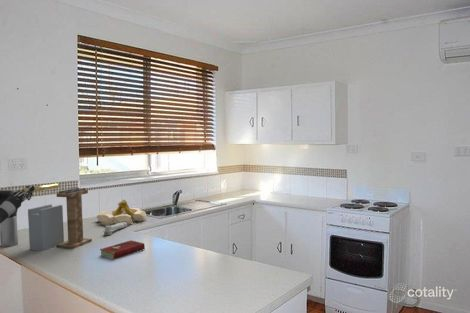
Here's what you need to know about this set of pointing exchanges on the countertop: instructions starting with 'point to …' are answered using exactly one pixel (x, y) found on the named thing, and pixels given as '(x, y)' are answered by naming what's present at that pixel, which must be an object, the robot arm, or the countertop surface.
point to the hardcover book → (122, 249)
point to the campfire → (121, 215)
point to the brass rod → (42, 187)
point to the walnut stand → (74, 218)
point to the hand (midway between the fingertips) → (31, 187)
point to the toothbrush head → (117, 226)
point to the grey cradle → (45, 227)
